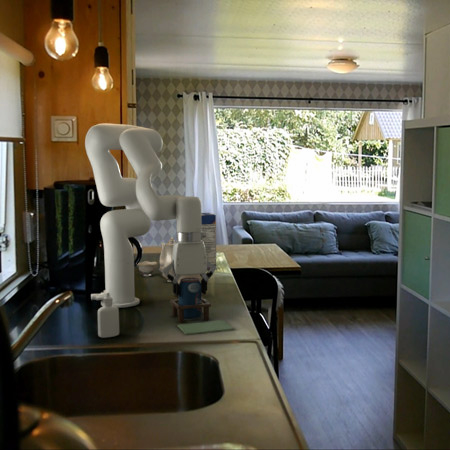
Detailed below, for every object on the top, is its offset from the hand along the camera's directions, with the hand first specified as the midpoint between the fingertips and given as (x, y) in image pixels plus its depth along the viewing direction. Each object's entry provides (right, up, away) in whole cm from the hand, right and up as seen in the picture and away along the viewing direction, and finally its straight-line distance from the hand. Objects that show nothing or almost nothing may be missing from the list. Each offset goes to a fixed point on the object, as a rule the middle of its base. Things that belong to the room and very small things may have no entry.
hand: (190, 294), depth 197 cm
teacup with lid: (-4, -4, +34) cm, 34 cm away
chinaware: (-18, 0, +67) cm, 70 cm away
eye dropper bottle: (-20, -10, -19) cm, 29 cm away
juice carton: (-5, +2, +90) cm, 90 cm away
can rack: (0, -7, +1) cm, 7 cm away
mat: (+6, -9, -11) cm, 15 cm away
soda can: (0, -8, +1) cm, 8 cm away
